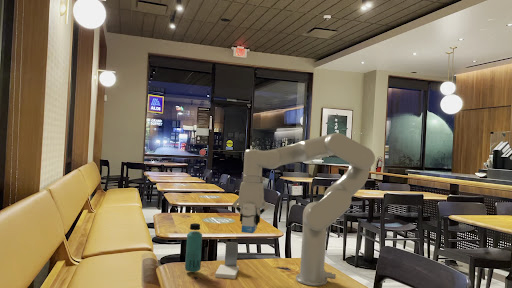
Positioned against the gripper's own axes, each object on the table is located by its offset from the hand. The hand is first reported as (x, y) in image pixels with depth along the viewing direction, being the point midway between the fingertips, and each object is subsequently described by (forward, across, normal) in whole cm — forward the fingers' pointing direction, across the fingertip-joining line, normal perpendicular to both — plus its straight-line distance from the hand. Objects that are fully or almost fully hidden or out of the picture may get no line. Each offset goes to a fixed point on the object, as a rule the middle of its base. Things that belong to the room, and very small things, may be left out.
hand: (249, 223), depth 160 cm
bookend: (+20, +8, -6) cm, 22 cm away
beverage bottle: (+22, +22, +2) cm, 31 cm away
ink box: (+3, 0, 0) cm, 3 cm away
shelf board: (+21, +8, -1) cm, 23 cm away
